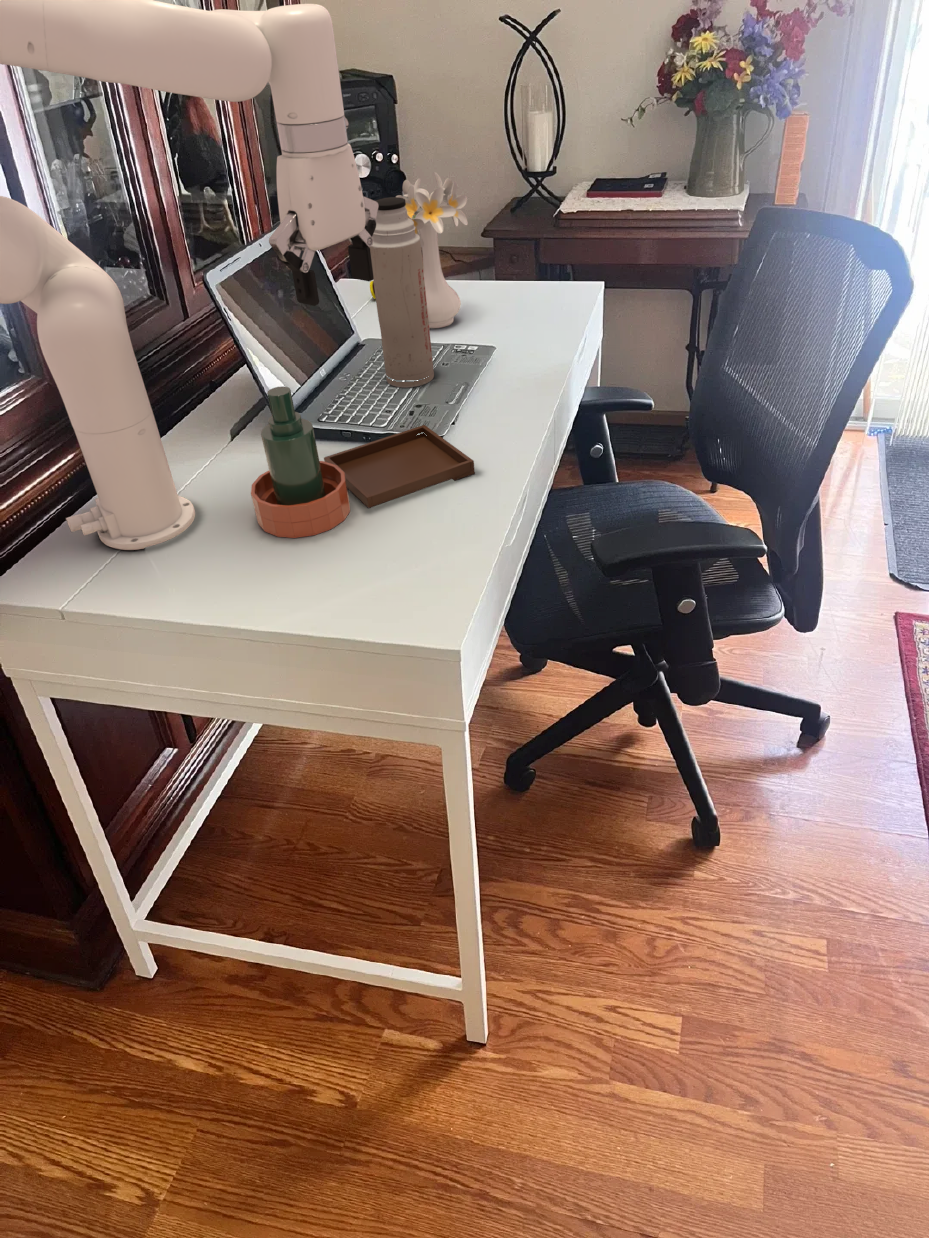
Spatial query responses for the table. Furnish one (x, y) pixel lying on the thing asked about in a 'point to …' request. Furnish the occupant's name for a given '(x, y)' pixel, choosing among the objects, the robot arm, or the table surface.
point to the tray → (400, 465)
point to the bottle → (291, 452)
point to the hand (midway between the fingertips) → (336, 291)
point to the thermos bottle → (401, 295)
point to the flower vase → (435, 243)
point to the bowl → (302, 506)
